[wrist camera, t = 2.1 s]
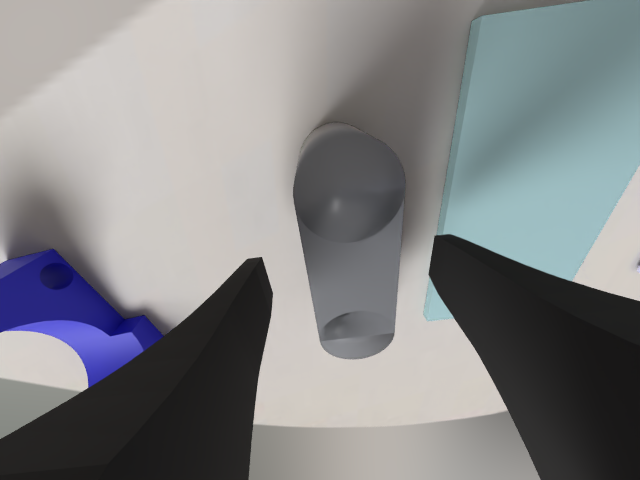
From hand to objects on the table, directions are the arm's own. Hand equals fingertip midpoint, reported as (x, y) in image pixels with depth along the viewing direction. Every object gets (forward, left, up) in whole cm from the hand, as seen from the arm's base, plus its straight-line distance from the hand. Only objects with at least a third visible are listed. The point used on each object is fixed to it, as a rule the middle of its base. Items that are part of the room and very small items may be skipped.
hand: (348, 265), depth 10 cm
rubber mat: (-10, 0, -4) cm, 11 cm away
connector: (0, 0, -4) cm, 4 cm away
